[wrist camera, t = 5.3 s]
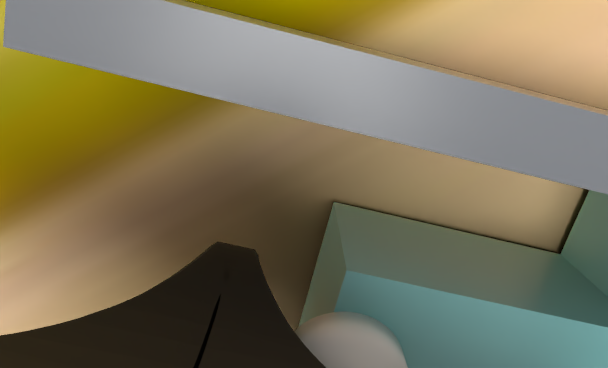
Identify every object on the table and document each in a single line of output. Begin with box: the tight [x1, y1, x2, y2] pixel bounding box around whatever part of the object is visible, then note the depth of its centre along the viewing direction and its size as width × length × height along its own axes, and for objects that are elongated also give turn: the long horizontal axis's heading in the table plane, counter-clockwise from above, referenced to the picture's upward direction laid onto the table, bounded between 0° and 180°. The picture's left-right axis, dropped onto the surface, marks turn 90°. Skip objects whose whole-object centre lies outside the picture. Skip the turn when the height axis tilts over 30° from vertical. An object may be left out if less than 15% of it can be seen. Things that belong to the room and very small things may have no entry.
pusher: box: [294, 190, 608, 368], centre depth 11 cm, size 8×8×5 cm
